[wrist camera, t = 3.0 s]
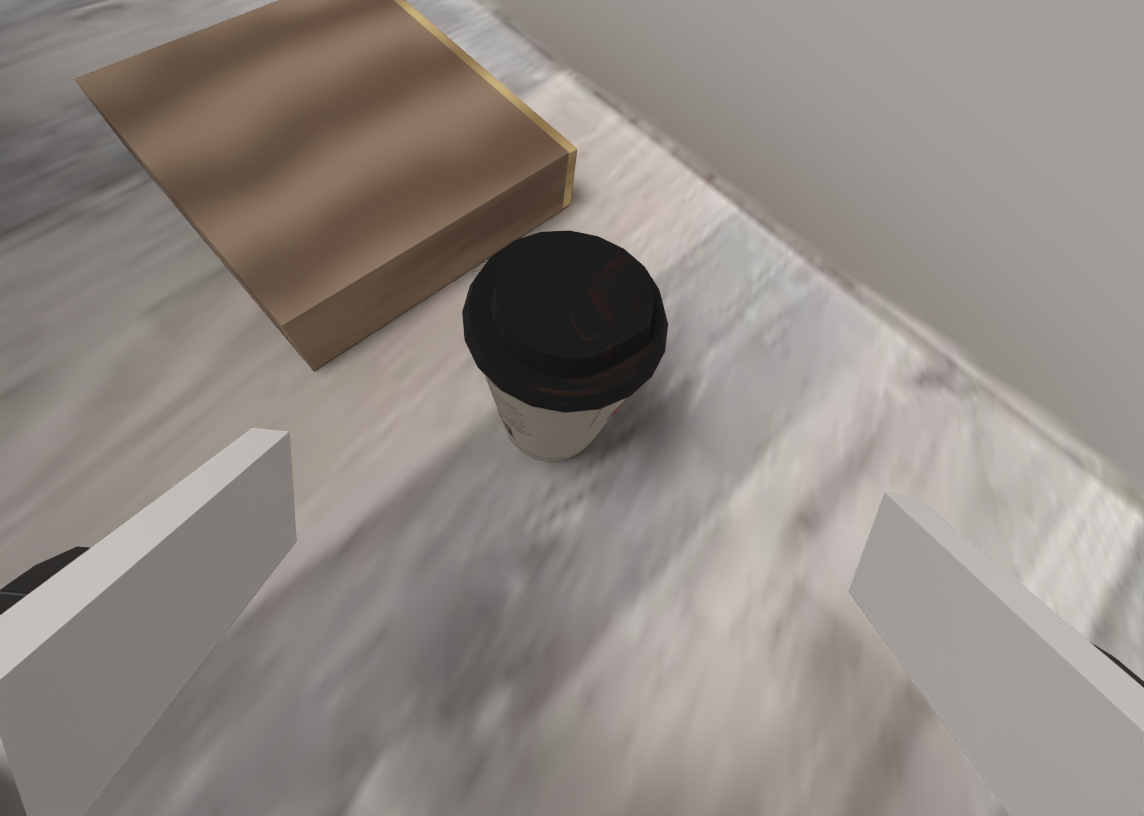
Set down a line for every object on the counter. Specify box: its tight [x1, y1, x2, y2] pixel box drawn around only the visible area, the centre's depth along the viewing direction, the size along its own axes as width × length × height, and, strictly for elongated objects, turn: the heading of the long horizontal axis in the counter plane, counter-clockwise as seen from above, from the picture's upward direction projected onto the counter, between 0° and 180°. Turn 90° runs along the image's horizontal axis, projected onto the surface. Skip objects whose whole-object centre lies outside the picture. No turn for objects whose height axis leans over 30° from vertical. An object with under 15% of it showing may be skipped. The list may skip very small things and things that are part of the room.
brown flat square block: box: [74, 0, 577, 371], centre depth 29 cm, size 18×17×4 cm
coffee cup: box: [462, 231, 668, 461], centre depth 22 cm, size 7×7×10 cm
